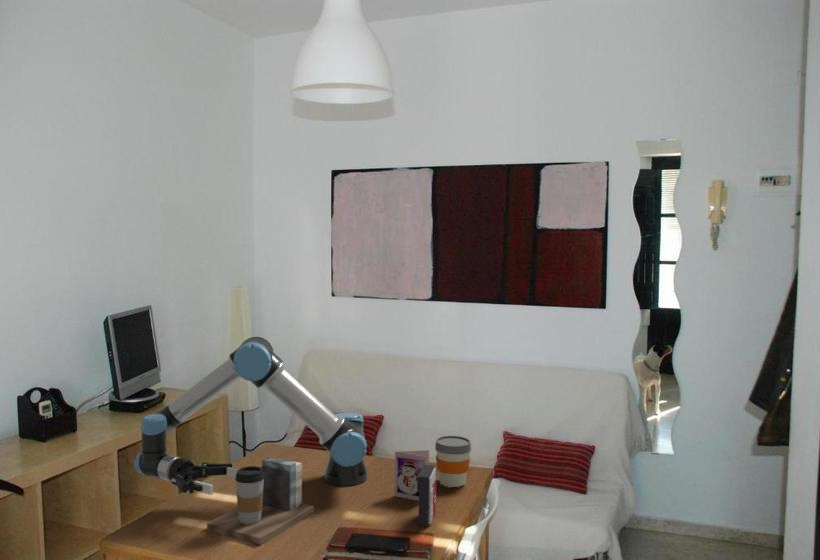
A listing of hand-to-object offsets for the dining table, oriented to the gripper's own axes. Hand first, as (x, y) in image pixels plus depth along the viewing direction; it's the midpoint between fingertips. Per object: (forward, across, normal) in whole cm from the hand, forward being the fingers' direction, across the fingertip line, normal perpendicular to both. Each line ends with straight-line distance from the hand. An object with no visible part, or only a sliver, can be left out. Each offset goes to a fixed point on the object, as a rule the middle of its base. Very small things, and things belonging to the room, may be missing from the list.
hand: (228, 482), depth 200 cm
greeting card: (+40, -44, -12) cm, 61 cm away
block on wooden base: (+9, -4, -12) cm, 15 cm away
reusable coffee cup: (+47, -61, -12) cm, 78 cm away
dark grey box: (+52, -30, -12) cm, 61 cm away
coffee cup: (+9, 0, -10) cm, 13 cm away
